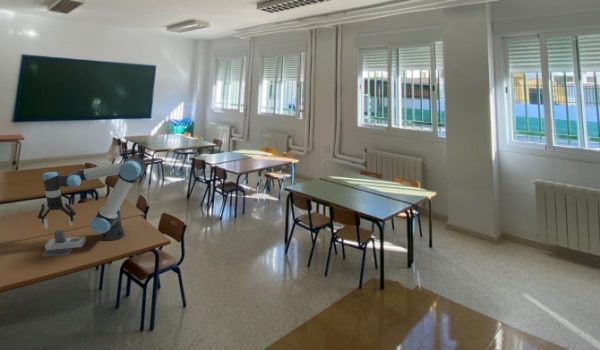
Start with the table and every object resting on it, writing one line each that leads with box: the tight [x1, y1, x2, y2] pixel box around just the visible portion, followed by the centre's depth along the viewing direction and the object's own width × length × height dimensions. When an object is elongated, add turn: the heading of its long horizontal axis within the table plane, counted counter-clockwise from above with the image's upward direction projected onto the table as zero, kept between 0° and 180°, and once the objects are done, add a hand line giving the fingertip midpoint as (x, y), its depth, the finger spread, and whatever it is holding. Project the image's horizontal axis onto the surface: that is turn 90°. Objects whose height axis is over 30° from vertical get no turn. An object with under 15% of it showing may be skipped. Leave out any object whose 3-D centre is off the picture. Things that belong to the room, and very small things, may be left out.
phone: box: [41, 248, 73, 258], centre depth 200 cm, size 7×14×1 cm, turn 107°
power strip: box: [44, 235, 87, 251], centre depth 209 cm, size 20×9×4 cm, turn 109°
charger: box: [53, 229, 66, 243], centre depth 208 cm, size 4×4×10 cm
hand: (59, 226), depth 206 cm, fingers open, 13 cm apart
